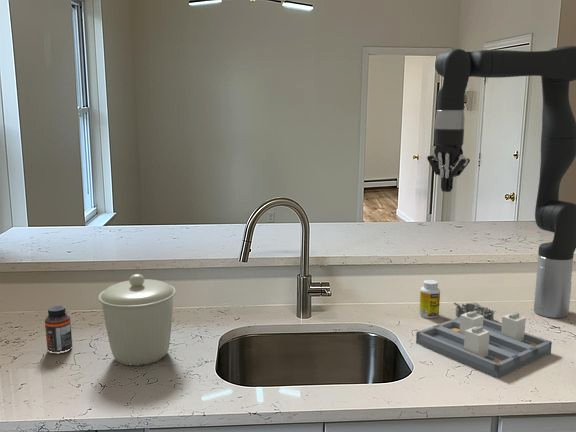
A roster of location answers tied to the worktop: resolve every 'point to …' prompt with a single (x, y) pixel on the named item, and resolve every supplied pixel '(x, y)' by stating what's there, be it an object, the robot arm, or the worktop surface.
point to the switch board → (501, 350)
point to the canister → (138, 319)
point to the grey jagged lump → (474, 307)
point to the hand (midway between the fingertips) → (446, 191)
